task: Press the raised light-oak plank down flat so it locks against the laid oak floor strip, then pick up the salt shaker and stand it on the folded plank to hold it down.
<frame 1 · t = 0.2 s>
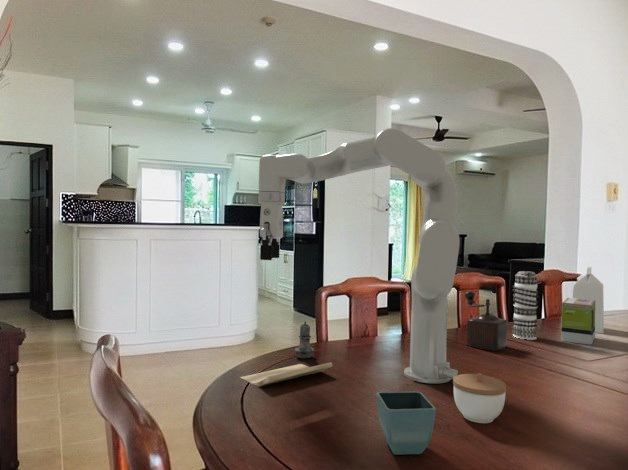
hand: (270, 258, 131), 31 cm above the table, tool pointing down, fingers open, 9 cm apart
flower pot: (403, 449, 84), on the table
tea box: (578, 340, 174), on the table
lidded jar: (478, 418, 98), on the table
floor strip: (278, 377, 121), on the table
dark brown coffee grinder: (480, 345, 162), on the table
salt shaker: (304, 361, 137), on the table
plank: (294, 374, 116), point 3 cm above the table, hinge at 30.0°
milk: (587, 329, 193), on the table
decorative candle: (524, 337, 175), on the table
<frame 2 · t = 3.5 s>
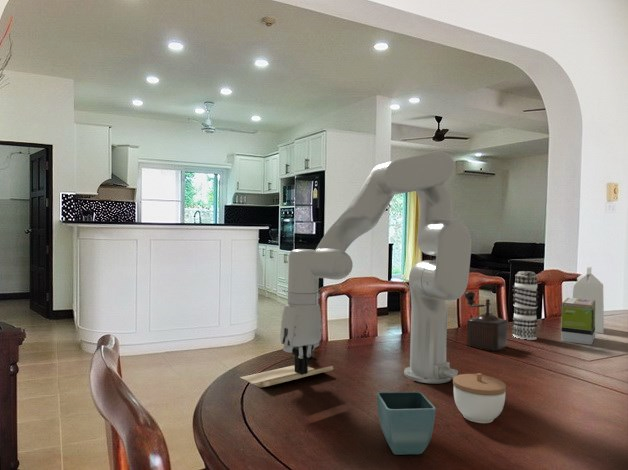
hand: (301, 372, 114), 4 cm above the table, tool pointing down, fingers closed
plank: (295, 376, 116), point 2 cm above the table, hinge at 21.9°, touching gripper
everything else where it was.
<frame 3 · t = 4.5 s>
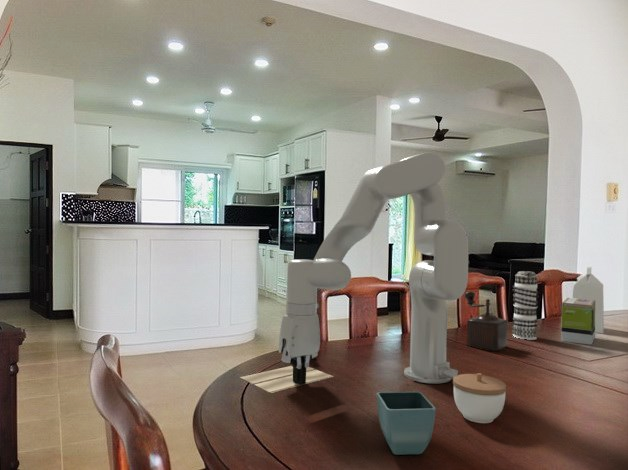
hand: (299, 382, 114), 1 cm above the table, tool pointing down, fingers closed
plank: (295, 382, 116), point 1 cm above the table, hinge at -0.2°, touching gripper
everything else where it was.
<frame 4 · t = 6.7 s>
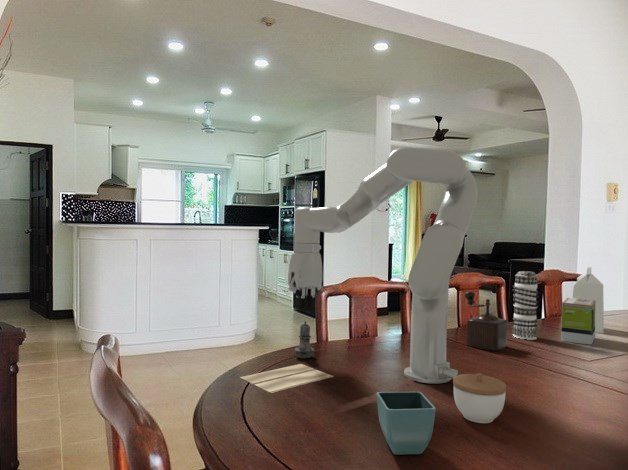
hand: (305, 310, 137), 15 cm above the table, tool pointing down, fingers closed
plank: (295, 382, 116), point 1 cm above the table, hinge at -0.3°
everything else where it was.
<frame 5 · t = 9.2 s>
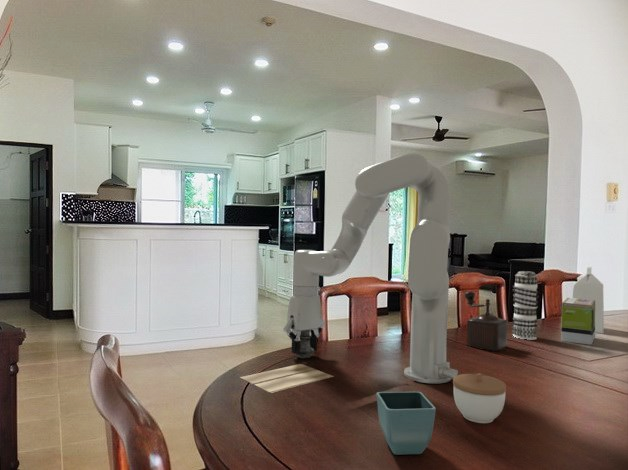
hand: (304, 351, 137), 3 cm above the table, tool pointing down, fingers closed on salt shaker, 5 cm apart
salt shaker: (304, 361, 137), on the table, touching gripper
everything else where it was.
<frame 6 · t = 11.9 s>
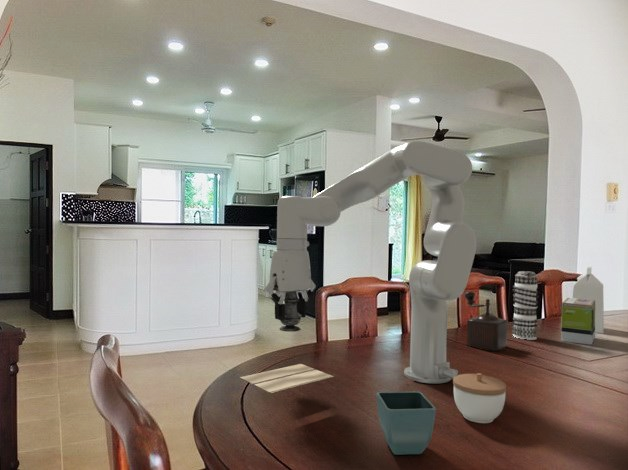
hand: (290, 317, 115), 17 cm above the table, tool pointing down, fingers closed on salt shaker, 5 cm apart
salt shaker: (290, 330, 115), point 14 cm above the table, touching gripper
everything else where it was.
when the fingers open (5 cm above the table, at t = 14.6 s): salt shaker stays where it is, resting on plank.
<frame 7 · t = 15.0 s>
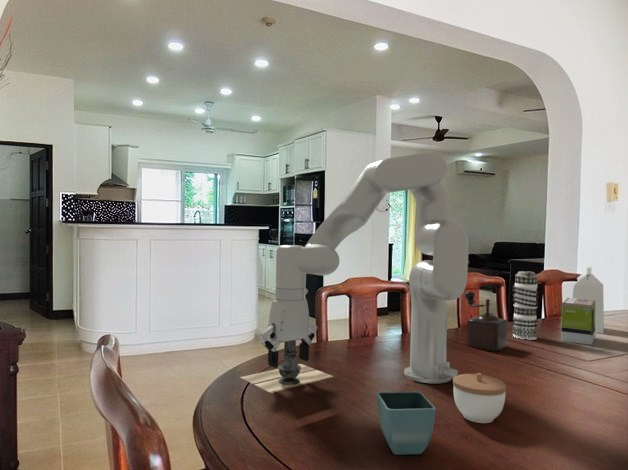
hand: (288, 363, 115), 6 cm above the table, tool pointing down, fingers open, 9 cm apart
salt shaker: (289, 382, 115), point 1 cm above the table, touching plank
plank: (295, 382, 116), point 1 cm above the table, hinge at -0.3°, touching salt shaker
everything else where it was.
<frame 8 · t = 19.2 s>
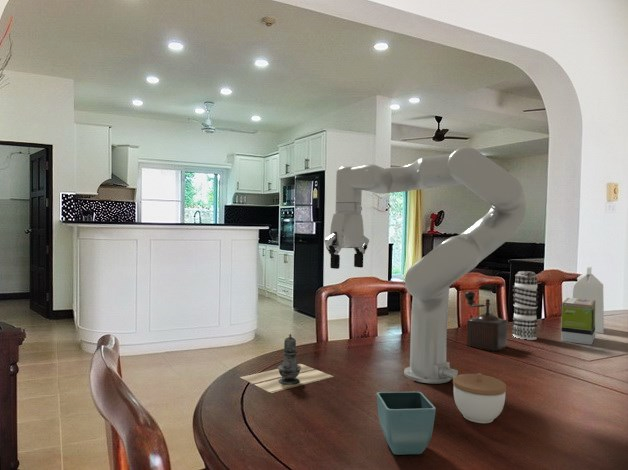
hand: (346, 267, 135), 28 cm above the table, tool pointing down, fingers open, 9 cm apart
nothing on the table moved.
at the end: plank at +0° (first picture: +30°); salt shaker inside the target area on the plank (1.8 cm from its centre), point 0.0 cm above the plank's base; salt shaker tilted 0° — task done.
